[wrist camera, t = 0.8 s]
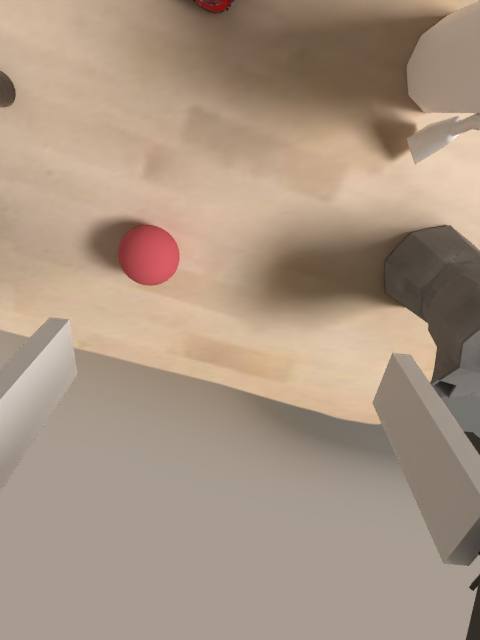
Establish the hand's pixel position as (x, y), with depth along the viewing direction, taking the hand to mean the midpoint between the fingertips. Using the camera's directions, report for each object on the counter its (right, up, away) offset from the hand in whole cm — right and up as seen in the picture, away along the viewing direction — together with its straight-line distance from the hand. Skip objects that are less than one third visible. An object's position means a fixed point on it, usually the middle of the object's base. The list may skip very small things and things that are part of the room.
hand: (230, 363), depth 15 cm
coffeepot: (+21, +8, +22) cm, 31 cm away
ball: (-8, +8, +18) cm, 21 cm away
